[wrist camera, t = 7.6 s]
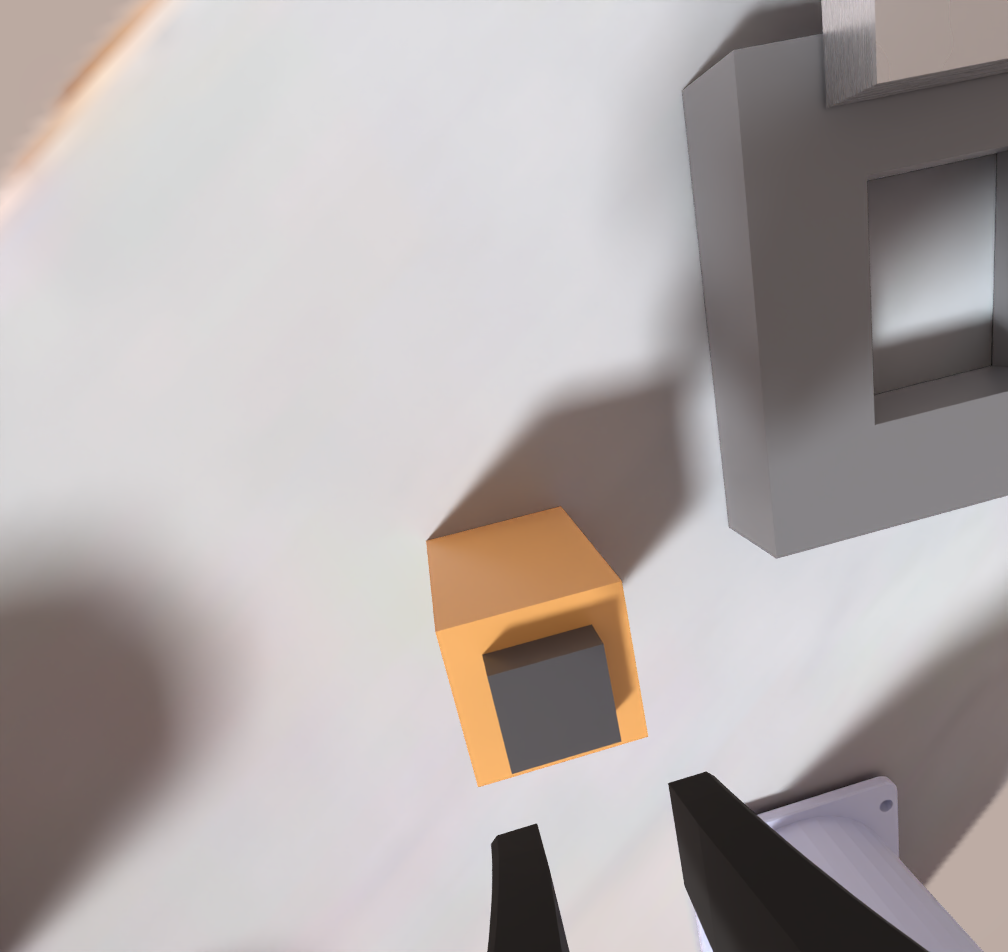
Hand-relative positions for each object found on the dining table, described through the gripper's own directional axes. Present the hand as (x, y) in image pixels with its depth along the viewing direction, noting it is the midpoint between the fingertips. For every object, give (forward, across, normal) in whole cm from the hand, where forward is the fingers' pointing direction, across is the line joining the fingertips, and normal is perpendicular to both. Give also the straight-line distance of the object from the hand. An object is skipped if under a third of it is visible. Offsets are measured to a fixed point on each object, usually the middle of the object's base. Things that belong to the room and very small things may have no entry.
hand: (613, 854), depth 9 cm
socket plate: (+9, -13, -6) cm, 17 cm away
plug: (+10, 0, 0) cm, 10 cm away
